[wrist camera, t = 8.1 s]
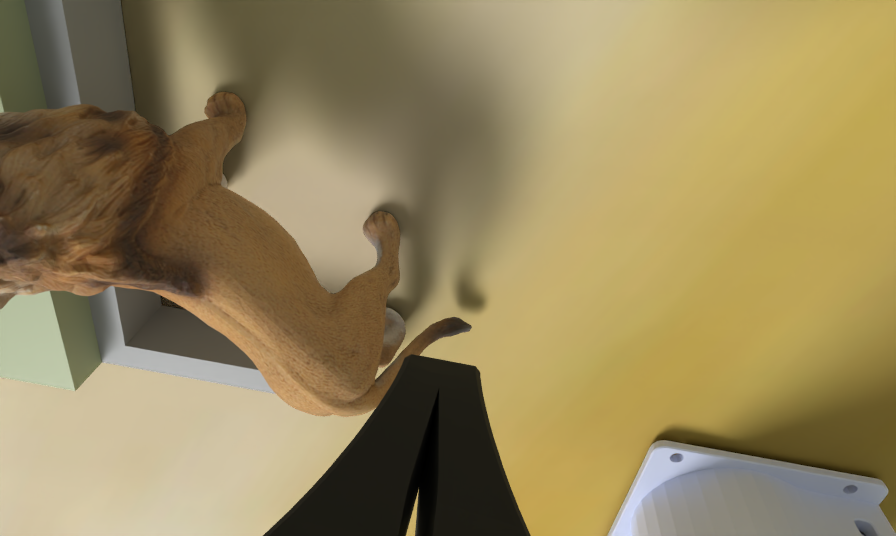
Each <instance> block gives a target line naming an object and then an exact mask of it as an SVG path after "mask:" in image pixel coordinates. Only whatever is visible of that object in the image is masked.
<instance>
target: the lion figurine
mask: <svg viewBox="0 0 896 536" xmlns="http://www.w3.org/2000/svg"><path fill="white" fill-rule="evenodd" d="M205 114H206V116H207V117H208V118H209V119H206V120H203V121H198V122H195V123H192V124H189V125H186V126H184V127H183V128H181V129H179V130H178V131H176V132H175V133H173V134H172V135H167V134H166V133H165V131H164V130H163V129H161V128H160V127H158V126H156V125H153V124H149V123H148V121H147V120H146V119H145V118H144V117H141V116H139V115H138V114H137V113H136V112H135V111H123V110H117V111H113V112H108V113H107V112H105V111H103V110H102V109H100V108H99V107H97V106H94V105H90V104H78V105H72V106H67V107H64V108H60V109H34V110H30V111H27V112H25V113H24V112H2V113H0V310H1V309H2V308H3V307H4V306H5V305H6V304H7V302H8V301H9V300H10V299H12V298H13V297H14V296H15V295H36V294H39V293H42V292H45V291H52V290H54V291H68V292H71V293H74V294H76V295H80V296H92V295H95V294H98V293H100V292H103V291H104V290H106V289H107V288H108V287H110V286H114V287H122V288H130V289H140V290H146V291H152V292H155V293H157V294H159V295H161V296H163V297H165V298H167V299H169V300H171V301H173V302H175V303H176V304H178V305H180V306H181V307H183V308H185V309H186V310H188V311H189V312H191V313H192V314H194V315H195V316H197V317H198V318H199V319H200V320H202V321H203V322H204V323H206V324H207V325H208V326H210V327H212V328H213V329H215V330H217V331H219V332H220V333H222V334H223V335H225V336H226V337H227V338H228V339H229V340H231V341H232V342H233V343H234V344H235V345H236V346H238V347H239V348H240V349H241V350H242V351H243V352H244V353H245V354H246V355H247V356H248V357H249V358H250V359H251V360H252V361H253V363H254V364H255V365H256V367H257V368H258V370H259V371H260V373H261V374H262V376H263V377H264V379H265V380H266V382H267V383H268V385H269V387H270V388H271V389H272V390H273V391H274V392H275V393H276V394H277V395H278V396H279V397H280V398H281V399H282V400H283V401H285V402H286V403H287V404H288V405H290V406H292V407H293V408H295V409H298V410H300V411H303V412H306V413H309V414H312V415H316V416H330V415H332V414H334V415H338V416H343V417H349V416H357V415H362V414H365V413H367V412H369V411H371V410H373V409H375V408H376V407H377V406H378V405H379V403H380V402H381V400H382V399H383V397H384V396H385V394H386V392H387V391H388V389H389V388H390V386H391V384H392V383H393V381H394V379H395V377H396V375H397V374H398V372H399V370H400V368H401V365H402V363H403V361H404V358H405V357H407V356H409V355H411V354H413V355H420V354H421V353H422V351H423V350H424V349H425V348H426V347H427V346H429V345H430V344H431V343H433V342H434V341H436V340H438V339H440V338H443V337H449V336H453V335H456V334H459V333H462V332H468V331H470V329H471V328H472V327H471V325H469V324H467V323H466V322H464V321H463V320H461V319H460V318H457V317H452V318H446V319H443V320H441V321H439V322H436V323H434V324H432V325H430V326H429V327H428V328H427V329H426V330H424V331H423V332H422V333H421V334H420V335H418V336H417V337H416V338H415V339H414V340H413V341H412V342H411V343H410V344H409V345H408V346H407V347H406V348H405V349H404V350H403V351H402V352H401V353H400V354H399V356H398V357H397V358H396V359H395V360H394V361H393V362H392V363H391V365H390V366H389V367H387V368H386V369H385V370H384V372H383V373H382V374H381V375H380V376H379V377H378V378H377V379H376V380H375V376H376V373H377V370H378V367H385V366H386V365H388V364H389V363H390V362H391V360H392V359H393V357H394V355H395V353H396V352H397V350H398V348H399V347H400V345H401V343H402V342H403V340H404V337H405V334H406V330H405V323H404V321H403V319H402V317H401V316H400V315H399V314H398V313H397V312H396V311H394V310H393V309H391V308H386V302H387V297H388V294H389V293H390V292H391V291H392V290H393V289H394V288H395V287H396V286H397V285H398V283H399V279H400V272H399V260H398V251H399V245H400V230H399V227H398V224H397V221H396V220H395V218H394V217H393V216H392V215H391V214H390V213H387V212H383V211H377V212H375V213H373V214H372V215H371V216H370V217H369V218H368V219H367V220H366V221H365V223H364V225H363V232H364V235H365V236H366V238H367V239H368V240H369V241H370V242H371V243H372V244H373V246H374V247H375V249H376V251H377V263H376V266H375V267H374V268H372V269H371V270H369V271H367V272H365V273H363V274H361V275H359V276H357V277H355V278H353V279H352V280H351V281H350V282H349V283H348V284H347V285H346V286H345V287H344V288H343V289H342V290H341V291H340V292H338V293H335V294H332V293H329V292H327V291H326V290H325V289H324V288H323V287H322V286H321V285H320V284H319V282H318V280H317V278H316V276H315V274H314V272H313V270H312V268H311V267H310V265H309V263H308V261H307V259H306V257H305V256H304V254H303V253H302V251H301V250H300V248H299V246H298V245H297V243H296V241H295V240H294V238H293V237H292V236H291V235H290V234H289V233H288V232H287V231H286V230H285V229H284V228H283V227H282V226H281V225H280V224H279V223H278V222H277V221H276V220H275V219H274V218H272V217H271V216H270V215H269V214H268V213H266V212H265V211H264V210H262V209H261V208H259V207H258V206H256V205H255V204H253V203H251V202H250V201H248V200H246V199H245V198H243V197H242V196H240V195H238V194H236V193H234V192H233V191H231V190H229V189H227V180H226V177H225V176H224V175H223V161H224V158H225V156H226V155H227V153H228V152H229V151H230V150H231V149H232V148H233V146H234V145H236V144H238V143H239V142H240V141H241V139H242V136H243V133H244V129H245V125H246V112H245V107H244V104H243V103H242V101H241V100H240V98H239V97H238V96H237V95H235V94H234V93H229V92H219V93H217V94H215V95H213V96H211V97H210V98H209V99H208V102H207V106H206V107H205Z"/></svg>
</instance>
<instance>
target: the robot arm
mask: <svg viewBox="0 0 896 536" xmlns="http://www.w3.org/2000/svg"><path fill="white" fill-rule="evenodd" d="M675 453H679V454H676V455H673V454H675ZM418 489H419V494H418V507H417V519H416V531H415V536H530V533H529V531H528V529H527V527H526V524H525V522H524V520H523V517H522V515H521V512H520V510H519V508H518V505H517V503H516V500H515V497H514V495H513V492H512V490H511V487H510V485H509V482H508V479H507V476H506V474H505V471H504V468H503V465H502V462H501V459H500V456H499V453H498V450H497V446H496V443H495V440H494V437H493V434H492V430H491V427H490V423H489V419H488V415H487V411H486V407H485V402H484V397H483V392H482V386H481V379H480V372H479V370H478V369H477V368H476V366H471V365H466V364H461V363H456V362H450V361H445V360H440V359H435V358H429V357H424V356H419V355H413V354H411V355H409V356H407V357H405V358H404V361H403V363H402V365H401V368H400V370H399V372H398V374H397V375H396V377H395V379H394V381H393V383H392V384H391V386H390V388H389V389H388V391H387V392H386V394H385V396H384V397H383V399H382V400H381V402H380V403H379V405H378V406H377V408H376V409H375V410H374V412H373V413H372V415H371V416H370V417H369V419H368V420H367V422H366V423H365V424H364V426H363V427H362V428H361V430H360V431H359V432H358V434H357V435H356V436H355V438H354V439H353V440H352V441H351V443H350V444H349V445H348V446H347V447H346V449H345V450H344V451H343V452H342V453H341V455H340V456H339V457H338V458H337V459H336V461H335V462H334V463H333V464H332V466H331V467H330V468H329V469H328V470H327V471H326V472H325V474H324V475H323V476H322V477H321V478H320V479H319V480H318V481H317V482H316V484H315V485H314V486H313V487H312V488H311V489H310V490H309V491H308V492H307V493H306V494H305V495H304V496H303V497H302V498H301V499H300V500H299V501H298V502H297V503H296V504H295V505H294V506H293V508H292V509H291V510H290V511H289V512H288V513H286V514H285V515H284V516H283V517H282V518H281V519H280V520H279V521H278V522H277V523H276V524H275V525H274V526H273V527H272V528H271V529H270V530H269V531H267V532H266V533H265V534H264V535H263V536H406V533H407V529H408V525H409V522H410V518H411V515H412V511H413V507H414V504H415V500H416V496H417V493H418ZM887 494H888V488H887V487H886V485H885V484H884V482H883V481H882V480H879V479H876V478H870V477H865V476H859V475H854V474H848V473H843V472H837V471H832V470H826V469H821V468H815V467H810V466H804V465H799V464H793V463H788V462H782V461H777V460H771V459H766V458H760V457H755V456H749V455H744V454H738V453H733V452H727V451H722V450H716V449H711V448H705V447H700V446H694V445H689V444H684V443H678V442H673V441H667V440H660V441H657V442H655V443H653V444H652V445H651V446H650V448H649V450H648V453H647V455H646V457H645V459H644V461H643V463H642V465H641V467H640V469H639V471H638V473H637V475H636V477H635V479H634V481H633V484H632V486H631V488H630V490H629V492H628V494H627V496H626V498H625V500H624V502H623V504H622V506H621V508H620V510H619V512H618V515H617V517H616V519H615V521H614V523H613V525H612V527H611V529H610V531H609V533H608V535H607V536H896V533H895V531H894V530H893V528H892V526H891V525H890V523H889V521H888V520H887V518H886V516H885V515H884V513H883V511H882V510H881V508H880V507H879V504H880V503H881V502H882V501H883V499H884V498H885V497H886V496H887Z"/></svg>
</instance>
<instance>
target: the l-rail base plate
mask: <svg viewBox="0 0 896 536" xmlns="http://www.w3.org/2000/svg"><path fill="white" fill-rule="evenodd" d="M78 104H90V105H94V106H97V107H99V108H100V109H102V110H103V111H105V112H107V113H108V112H113V111H117V110H123V111H135V104H134V96H133V89H132V82H131V74H130V67H129V59H128V52H127V45H126V37H125V30H124V22H123V15H122V7H121V0H0V113H2V112H24V113H25V112H27V111H30V110H34V109H60V108H64V107H67V106H72V105H78ZM135 112H136V111H135ZM102 362H103V363H109V364H114V365H120V366H125V367H131V368H136V369H142V370H147V371H153V372H158V373H164V374H169V375H175V376H180V377H186V378H191V379H197V380H202V381H208V382H213V383H219V384H224V385H230V386H235V387H241V388H246V389H252V390H257V391H263V392H268V393H274V394H276V393H275V392H274V391H273V390H272V389H271V388H270V387H269V385H268V383H267V382H266V380H265V379H264V377H263V376H262V374H261V373H260V371H259V370H258V368H257V367H256V365H255V364H254V363H253V361H252V360H251V359H250V358H249V357H248V356H247V355H246V354H245V353H244V352H243V351H242V350H241V349H240V348H239V347H238V346H236V345H235V344H234V343H233V342H232V341H231V340H229V339H228V338H227V337H226V336H225V335H223V334H222V333H220V332H219V331H217V330H215V329H213V328H212V327H210V326H208V325H207V324H206V323H204V322H203V321H202V320H200V319H199V318H198V317H197V316H195V315H194V314H192V313H191V312H189V311H188V310H185V309H179V308H173V307H168V306H162V304H161V297H160V295H159V294H157V293H155V292H152V291H146V290H140V289H130V288H122V287H114V286H110V287H108V288H107V289H106V290H104V291H103V292H100V293H98V294H95V295H92V296H80V295H76V294H74V293H71V292H68V291H54V290H52V291H45V292H42V293H39V294H36V295H15V296H14V297H13V298H12V299H10V300H9V301H8V302H7V304H6V305H5V306H4V307H3V308H2V309H1V310H0V377H1V378H7V379H12V380H18V381H23V382H29V383H34V384H39V385H45V386H50V387H56V388H61V389H67V390H72V391H76V390H77V389H78V388H79V387H80V385H81V384H82V383H83V382H84V381H85V380H86V379H87V378H88V377H89V376H90V375H91V373H92V372H93V371H94V370H95V369H96V368H97V367H98V366H99V365H100V364H101V363H102Z"/></svg>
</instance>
